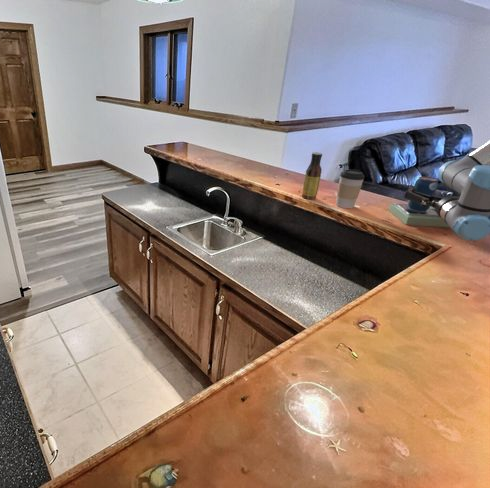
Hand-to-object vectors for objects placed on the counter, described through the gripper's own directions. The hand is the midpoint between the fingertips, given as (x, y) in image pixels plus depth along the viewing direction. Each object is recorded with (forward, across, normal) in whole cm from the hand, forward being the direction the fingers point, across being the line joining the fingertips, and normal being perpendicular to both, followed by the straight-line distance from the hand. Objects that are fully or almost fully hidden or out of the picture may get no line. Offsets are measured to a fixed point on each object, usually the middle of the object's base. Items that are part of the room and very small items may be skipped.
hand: (431, 190), depth 125 cm
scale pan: (+6, 0, -10) cm, 12 cm away
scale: (+6, +1, -13) cm, 14 cm away
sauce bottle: (+17, -39, -13) cm, 44 cm away
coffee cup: (+12, -24, -13) cm, 30 cm away
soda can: (+6, 0, -9) cm, 11 cm away
